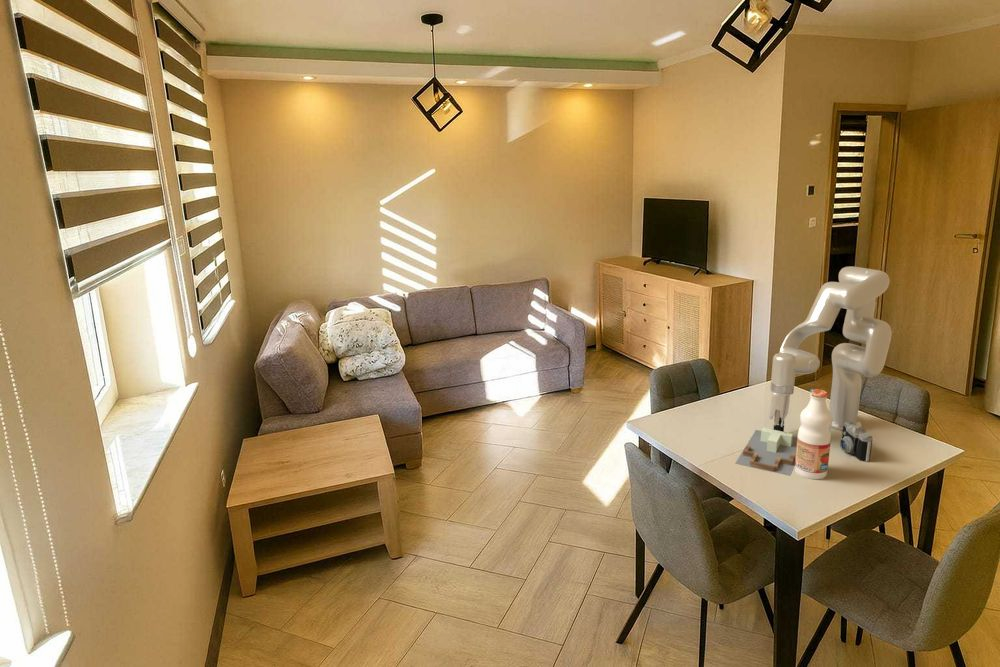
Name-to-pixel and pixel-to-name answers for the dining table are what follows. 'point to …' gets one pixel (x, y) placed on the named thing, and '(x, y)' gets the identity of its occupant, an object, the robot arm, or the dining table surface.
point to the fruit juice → (814, 438)
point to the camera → (856, 441)
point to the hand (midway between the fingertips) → (778, 435)
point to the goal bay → (766, 466)
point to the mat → (769, 454)
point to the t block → (776, 439)
